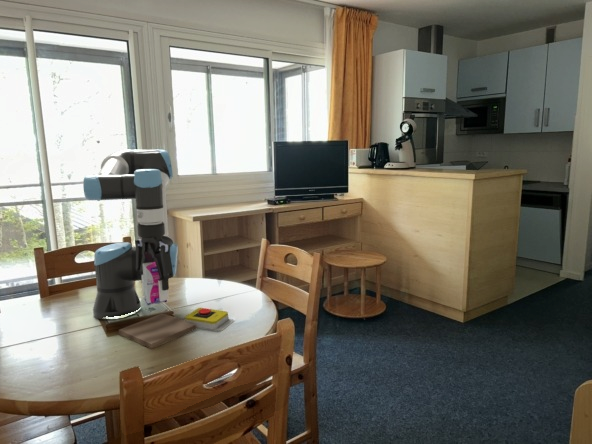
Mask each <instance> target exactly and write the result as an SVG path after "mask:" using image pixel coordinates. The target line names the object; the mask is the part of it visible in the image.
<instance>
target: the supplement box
mask: <svg viewBox="0 0 592 444" xmlns="http://www.w3.org/2000/svg"><path fill="white" fill-rule="evenodd" d="M163 276H164V275H163ZM158 279H160V277H159V273H158V270H157V267H156V263H155V262H150V263H143V281H144V300H145V303H146V305H147V306H149V305H154V304H161V303H167V302H168V299H167V300H165V301H162V302H161V301H160V300H159V284H158Z"/></svg>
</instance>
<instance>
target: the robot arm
mask: <svg viewBox="0 0 592 444" xmlns="http://www.w3.org/2000/svg"><path fill="white" fill-rule="evenodd" d="M173 177H174V173H173V165H172V161H171V156H170V153H169V152H168V151H167V150H166V149H158V148H155V149H122V150H119V151H116V152H114V153H112V154H111V153H110V154H109V155H107V156H106V157H105V158H104V159H103V160H102V162H101V164H100V170H99V172H98V173H97V174H92V175H90V174H89V175H85V177H83V181H82V182H83V183H82V184H83V193H84V197H85V199H86V200H87V201H97V202H99V201H112V200H113V201H115V200H116V201H117V200H135V209H136V221H137V223H138V224H137V236H138V237H139V238H140V239H135V240H134V243H135V246H133V245H132V244H131V242H128V241H126V242H124V241H123V242H116V243H112V244H108V245H105V246H101V247H99V248H98V249H96V250H95V252H94V254H93V256H94V263H93V265H94V269H95V281H96V296H95V298H94V299H95V300H94V303H93V307H92V314H93V317H94V318H95V319H98V320H102V318H103V317H106V316H108V317H114V316H121V315H125V314H128V313H131V312H134V311H136V310H138V309H139V308H140V307H141V308H142V304H141V300H140V298H139V295H138V293H137V291H136V288H135V282H137V281H139V282H140V281H141V286H142V287H141V288H142V296H144V281H143V263H150V262H155V263H156V267H157V270H158V273H159V277H160V279H158V284H159V300H160V301H161V302H162V301H165V300H167V301H168V300H170V298H169V289H170V288H169V287H170V286H169V280H170V279H171V278H173V277H175V276H176V273H177V267H178V266H177V265H178V252H179V250H178V248H179V246H178V244H176V243H174V239H172V237H170V236H169V224H168V223H169V222H168V221H169V220H168V205H167V189H166V186H167V185H168V184H169V182H170V179H171V180H172V179H173ZM163 275H164V276H163ZM162 303H163V302H162Z"/></svg>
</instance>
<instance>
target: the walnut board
mask: <svg viewBox="0 0 592 444" xmlns="http://www.w3.org/2000/svg"><path fill="white" fill-rule="evenodd" d="M195 330H197V328H196V325H195V324H192V323H189V322H186V321H185V319H181V318H179V317H176V316H172V315H169V314H166V313H164V314H162V313H161V315H160V314H157V315H155V316H154V315H153V316H152V317H149V318H147V319H146V318H145V319H143V320H141V321H138V322H135V323H132V324H130V325H128V326H125V327H122V328H120V329H118V335H120V336H122V337H124V338H126V339H128V340H130V341H132V342H135V343H138V344H140V345H142V346H144V347H146V348H148V349H150V350H152V349H154V348H157V347H160V346H161V345H164V344H166V343H168V342H171V341H173V340H175V339H177V338H179V337H181V336H184V335H186V334H189V333H191V332H193V331H195Z"/></svg>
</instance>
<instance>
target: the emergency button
mask: <svg viewBox="0 0 592 444" xmlns="http://www.w3.org/2000/svg"><path fill="white" fill-rule="evenodd" d="M184 321H186V322H189V323H192V324H195V325H196V329H197V328H198V329H201V330H202V329H203V330H208V331H209V330H210V331H215V332H222V331H223V330H225V329H226V328H227V327H229V326H230V325H231V324H233V323H234V322H235V319H232V318H229V311H226V310H220V309H219V310H218V309H212V308H206V307H198V308H196V309H195V310H193V311H191V312H189V313H188V314H187V315H186V314H185V316H184Z"/></svg>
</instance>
